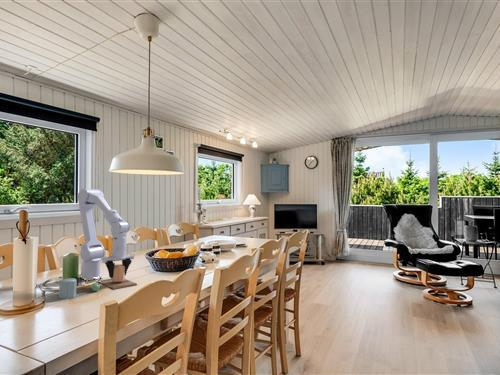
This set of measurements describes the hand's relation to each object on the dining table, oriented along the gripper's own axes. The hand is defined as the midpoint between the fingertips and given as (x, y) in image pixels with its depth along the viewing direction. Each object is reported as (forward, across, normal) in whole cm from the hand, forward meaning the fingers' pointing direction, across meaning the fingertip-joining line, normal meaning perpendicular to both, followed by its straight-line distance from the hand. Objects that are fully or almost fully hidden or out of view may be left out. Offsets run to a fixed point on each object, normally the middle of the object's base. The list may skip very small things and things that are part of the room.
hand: (117, 276), depth 146 cm
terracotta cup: (+2, 0, 0) cm, 2 cm away
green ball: (+2, -12, -5) cm, 13 cm away
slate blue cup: (+3, -23, -5) cm, 24 cm away
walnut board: (+3, 0, 0) cm, 3 cm away
